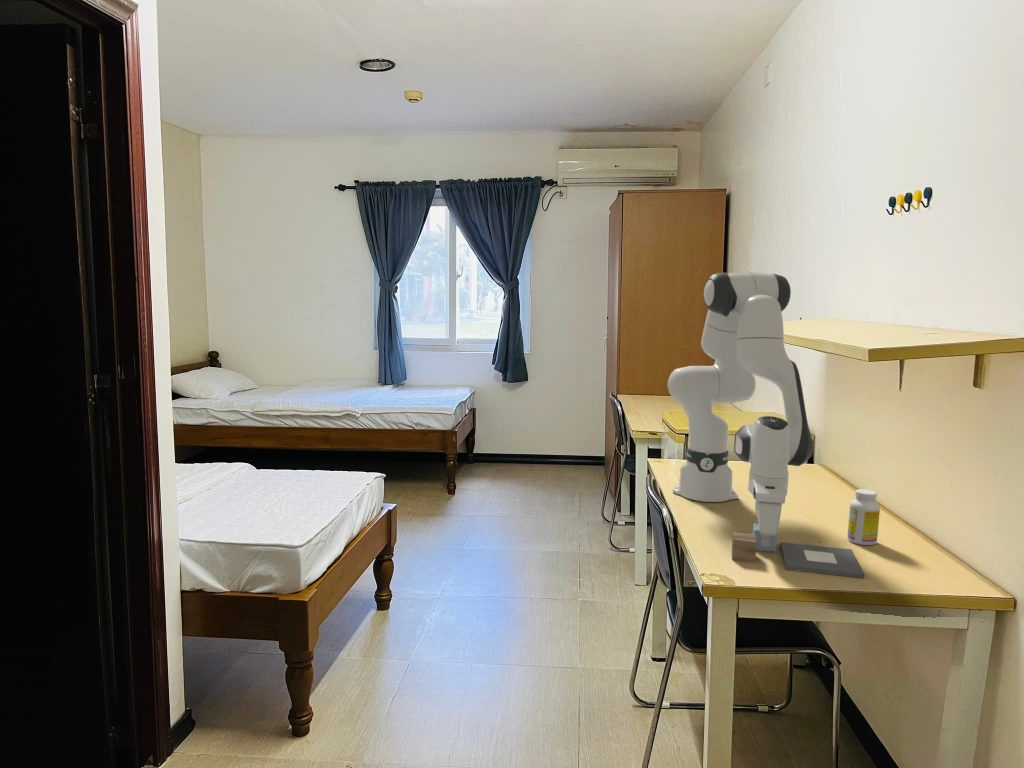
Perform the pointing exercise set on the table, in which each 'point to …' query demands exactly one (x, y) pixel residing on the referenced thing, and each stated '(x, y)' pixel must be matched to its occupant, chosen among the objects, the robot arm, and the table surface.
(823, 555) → the dark grey flat slab
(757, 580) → the table surface
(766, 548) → the blue block
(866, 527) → the supplement bottle
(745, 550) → the walnut block
